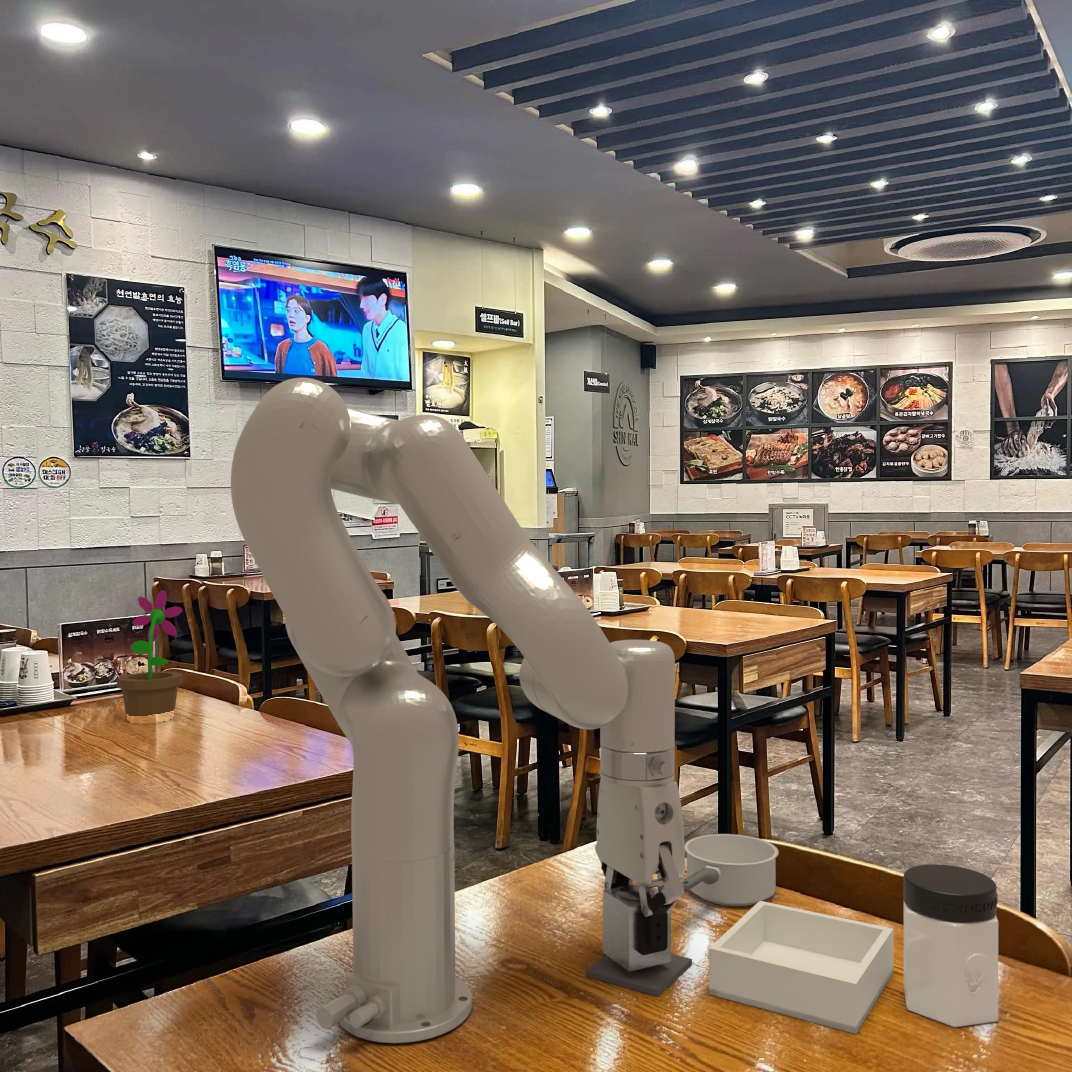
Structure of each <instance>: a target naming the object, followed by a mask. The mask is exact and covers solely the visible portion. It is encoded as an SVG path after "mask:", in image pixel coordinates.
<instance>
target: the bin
mask: <svg viewBox="0 0 1072 1072" xmlns="http://www.w3.org/2000/svg"><path fill="white" fill-rule="evenodd" d="M894 943H895V942H894V928H891V927H887V926H882V925H877V924H872V923H867V922H863V921H858V920H854V919H849V918H843V917H839V916H835V915H829V914H825V913H819V912H816V911H810V910H806V909H801V908H797V907H792V906H787V905H783V904H778V903H777V904H776V903H772V902H767V901H764V900H762V901H759V902H758V903H757V904H754V905H753V906H752V907H751V908H750V909H749V910H748V911H747V912H746V913H745V914H744V915H743V916H742V917H740V919H739V920H738V921H736V923H734V924H733V925H732V926H731V927H730V928H729V929H728V930H727V931H726V932H725V933H723V935H722V936H720V937H719V938H718V939H717V940H716V941H715V942H714V943H713V944H712V945H711V946H709V948H708V994H709V995H711V996H714V997H716V998H722V999H725V1000H728V1001H732V1002H737V1003H739V1004H744V1005H747V1006H751V1007H754V1008H759V1009H762V1010H766V1011H770V1012H771V1013H772V1012H773V1013H777V1014H781V1015H784V1016H788V1017H792V1018H796V1019H798V1020H799V1019H800V1020H803V1021H806V1022H809V1023H813V1024H817V1025H820V1026H825V1027H828V1028H833V1029H836V1030H839V1031H842V1032H846V1033H850V1034H855V1035H857V1034H858V1032H859V1030H860V1029H861V1027H862V1026H863V1024H864V1023H865V1021H866V1018H867V1017H868V1015H869V1014H870V1013H871V1011H872V1010H873V1007H874V1006H875V1004H876V1003H877V1001H878V999H879V997H880V996H881V994H882V992H883V991H884V990H885V988H886V986H887V984H888V983H889V981H890V979H891V978H892V977H893V975H894V969H895V968H894V964H895V962H894V959H895V958H894V954H895V953H894V950H895V949H894Z"/></svg>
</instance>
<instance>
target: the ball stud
mask: <svg viewBox="0 0 1072 1072" xmlns="http://www.w3.org/2000/svg"><path fill="white" fill-rule="evenodd" d="M691 966H693V959H692V958H690V957H687V956H682V955H677V954H674V953H671V962H667V963H663V964H659V965H655V966H651V967H647V968H642V969H638V970H634V971H630V972H629V971H627V970H626V969H625V968H623V967H622V966H621V965H619V964H618V963H617V962H615V961H614V960H613V959H611V958H610V957H609V956H607V955H606V954H605V955H604V956H603V957H601V958H600V959H598V960H597V961H596V962H595V963H593V964H592V965H591V966H590V967H588V968H587V969H586V970H585V976H586V977H587V978H591V979H594V980H598V981H601V982H605V983H609V984H612V985H616V986H619V987H623V988H626V989H629V990H632V991H637V992H641V993H644V994H647V995H652V996H655V997H659V996H661V994H662V993H664V992H665V991H666V990H667V989H669V987H670V986H671V985H673V983H675V982H676V980H677V979H679V978H680V977H681V976H682V975H683V974H684V973H685V972H686V971H687V970H688V969H689V968H691Z"/></svg>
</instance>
